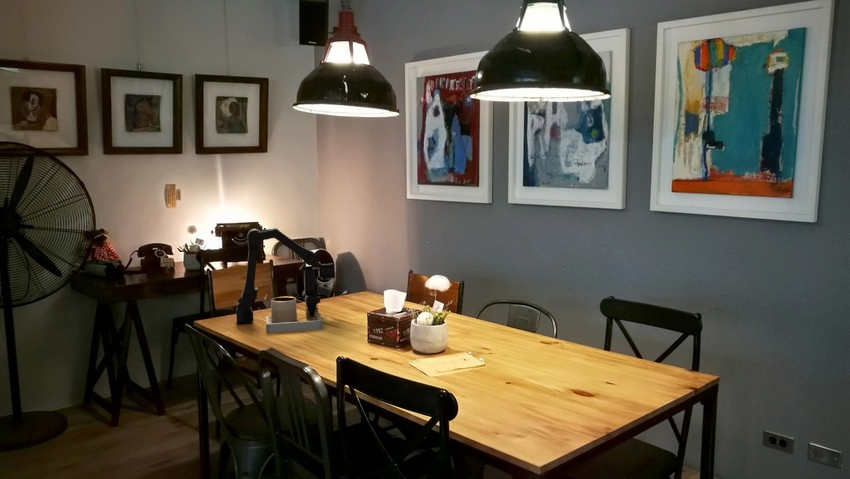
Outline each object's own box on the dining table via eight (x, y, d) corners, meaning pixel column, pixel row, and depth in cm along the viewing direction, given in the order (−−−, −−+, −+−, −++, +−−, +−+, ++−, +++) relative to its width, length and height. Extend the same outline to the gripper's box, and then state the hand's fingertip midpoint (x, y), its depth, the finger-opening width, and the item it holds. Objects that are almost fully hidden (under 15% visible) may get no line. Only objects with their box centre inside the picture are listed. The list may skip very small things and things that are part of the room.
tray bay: (266, 333, 269) (266, 324, 269) (265, 324, 283) (265, 316, 283) (323, 329, 275) (322, 320, 274) (319, 321, 288) (319, 313, 288)
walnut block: (306, 319, 292) (306, 308, 291) (305, 317, 297) (305, 305, 296) (318, 318, 293) (317, 307, 293) (317, 316, 298) (316, 305, 297)
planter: (266, 323, 286) (265, 300, 285) (279, 317, 296) (278, 295, 295) (289, 324, 283) (288, 302, 282) (301, 318, 293) (300, 297, 292)
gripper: (331, 282, 286) (332, 319, 288) (327, 275, 304) (328, 309, 306) (305, 284, 283) (306, 320, 285) (302, 276, 301) (303, 311, 303)
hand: (311, 315), depth 295 cm, fingers open, 5 cm apart
